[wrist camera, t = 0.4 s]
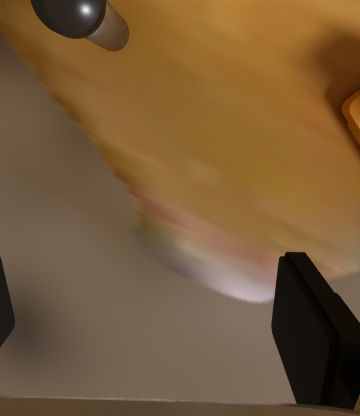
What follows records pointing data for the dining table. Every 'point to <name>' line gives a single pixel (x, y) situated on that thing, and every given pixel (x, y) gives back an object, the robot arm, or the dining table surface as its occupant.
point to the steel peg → (84, 21)
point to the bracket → (353, 114)
